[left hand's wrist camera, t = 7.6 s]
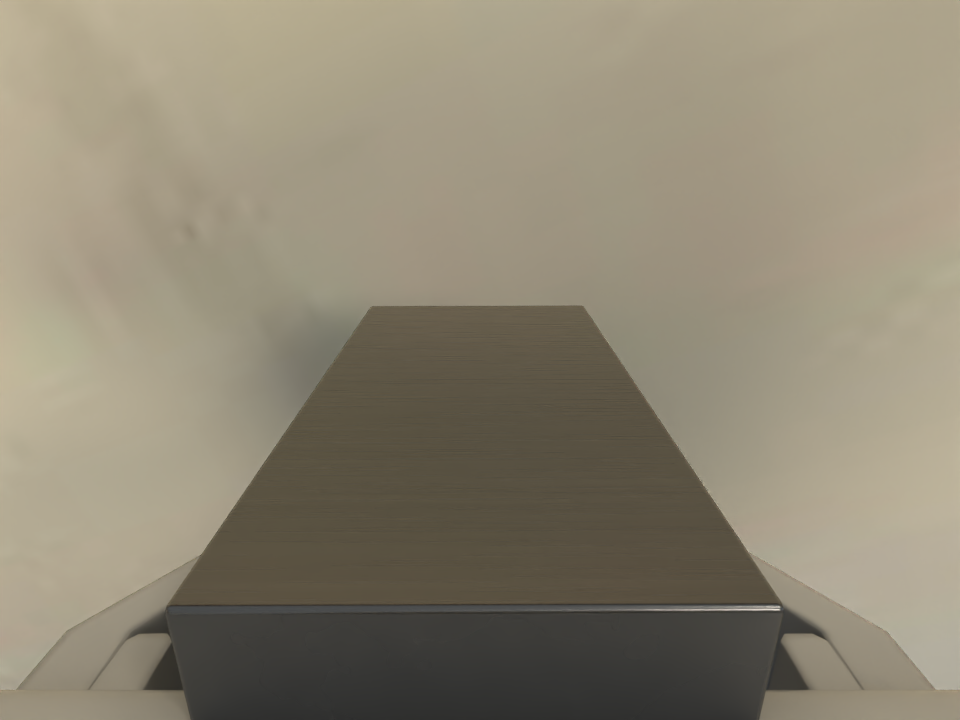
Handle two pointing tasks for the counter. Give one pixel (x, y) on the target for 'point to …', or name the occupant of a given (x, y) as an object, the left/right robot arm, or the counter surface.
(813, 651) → the left robot arm
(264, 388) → the counter surface
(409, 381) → the bar
